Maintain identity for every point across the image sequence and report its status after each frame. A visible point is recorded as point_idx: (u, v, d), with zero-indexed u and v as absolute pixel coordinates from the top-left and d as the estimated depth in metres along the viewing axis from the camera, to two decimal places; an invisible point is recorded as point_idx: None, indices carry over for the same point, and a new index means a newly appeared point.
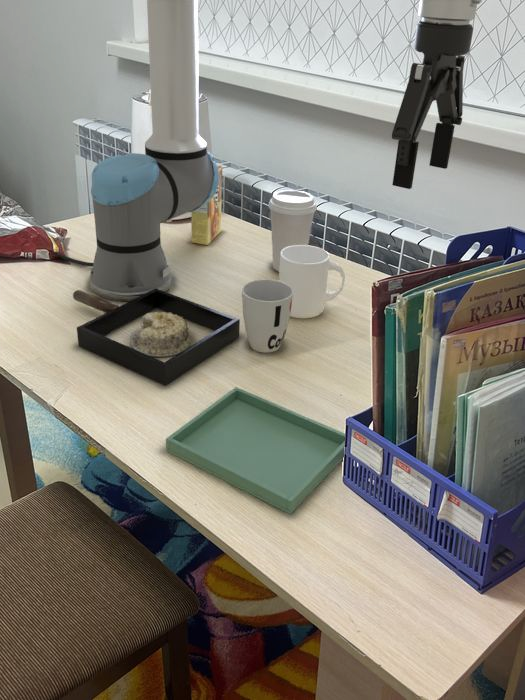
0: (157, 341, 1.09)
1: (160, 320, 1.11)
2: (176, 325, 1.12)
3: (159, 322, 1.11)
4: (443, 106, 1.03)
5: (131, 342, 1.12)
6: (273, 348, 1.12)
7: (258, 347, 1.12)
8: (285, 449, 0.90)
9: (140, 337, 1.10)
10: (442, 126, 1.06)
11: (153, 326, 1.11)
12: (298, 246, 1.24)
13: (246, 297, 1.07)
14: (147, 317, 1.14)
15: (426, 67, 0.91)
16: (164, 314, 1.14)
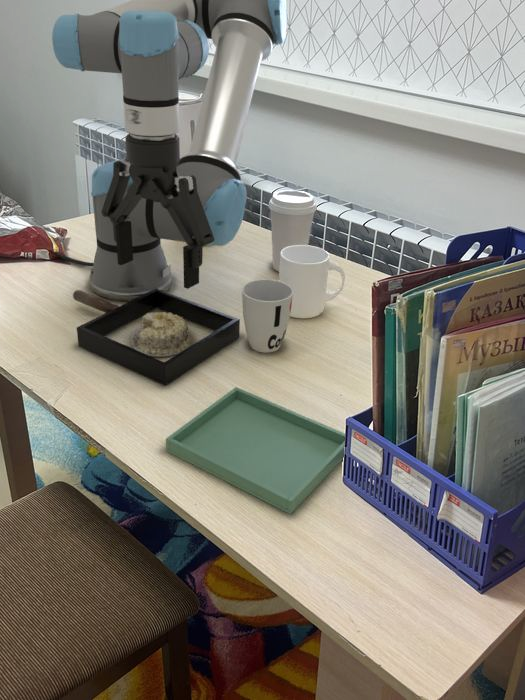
0: (157, 341, 1.09)
1: (160, 320, 1.11)
2: (176, 325, 1.12)
3: (159, 322, 1.11)
4: None
5: (131, 342, 1.12)
6: (273, 348, 1.12)
7: (258, 347, 1.12)
8: (285, 449, 0.90)
9: (140, 337, 1.10)
10: None
11: (153, 326, 1.11)
12: (298, 246, 1.24)
13: (246, 297, 1.07)
14: (147, 317, 1.14)
15: None
16: (164, 314, 1.14)
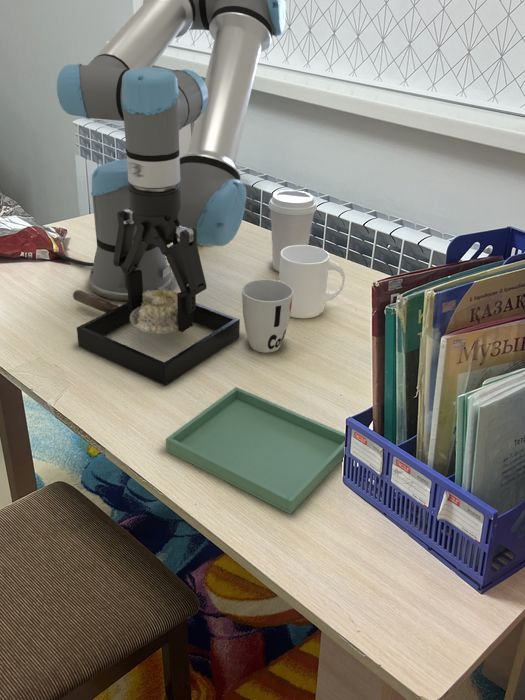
0: (157, 318, 1.07)
1: (160, 297, 1.09)
2: (176, 302, 1.10)
3: (159, 299, 1.09)
4: None
5: (131, 319, 1.11)
6: (273, 348, 1.12)
7: (258, 347, 1.12)
8: (285, 449, 0.90)
9: (140, 314, 1.08)
10: None
11: (153, 303, 1.09)
12: (298, 246, 1.24)
13: (246, 297, 1.07)
14: (147, 295, 1.12)
15: None
16: (165, 291, 1.13)
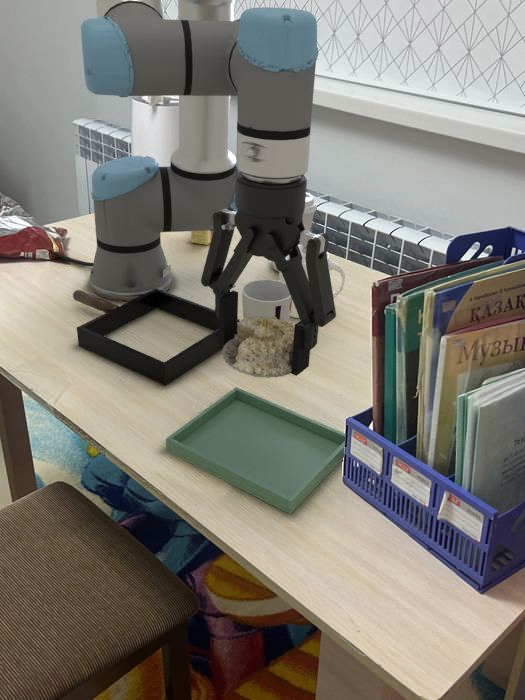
0: (265, 356, 0.79)
1: (266, 327, 0.81)
2: (287, 334, 0.81)
3: (264, 330, 0.81)
4: None
5: (225, 357, 0.82)
6: None
7: None
8: (285, 449, 0.90)
9: (240, 351, 0.80)
10: None
11: (256, 336, 0.81)
12: (298, 246, 1.24)
13: (246, 297, 1.07)
14: (245, 324, 0.84)
15: None
16: (268, 319, 0.84)
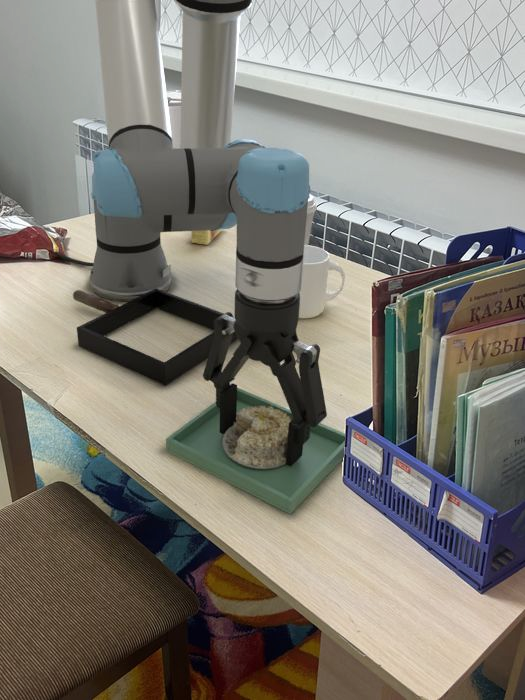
0: (262, 450, 0.85)
1: (263, 421, 0.88)
2: (282, 426, 0.88)
3: (261, 423, 0.88)
4: None
5: (225, 447, 0.89)
6: None
7: None
8: None
9: (239, 444, 0.86)
10: None
11: (254, 428, 0.88)
12: None
13: None
14: (243, 414, 0.91)
15: None
16: (264, 409, 0.91)
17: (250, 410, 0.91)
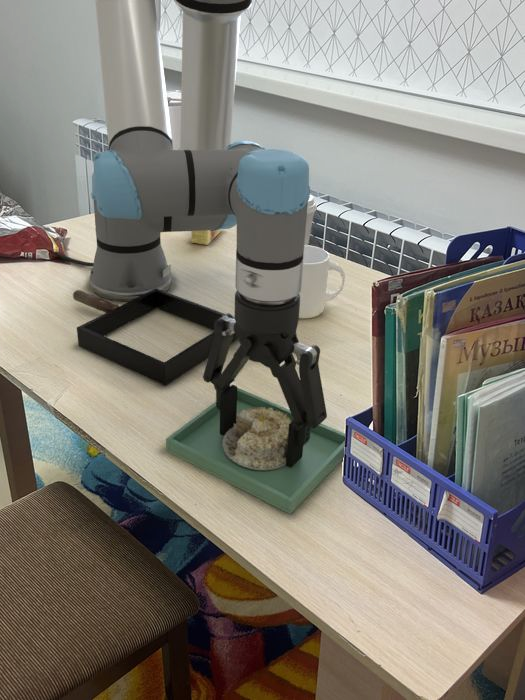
0: (262, 452, 0.85)
1: (263, 422, 0.88)
2: (282, 428, 0.88)
3: (261, 425, 0.88)
4: None
5: (225, 449, 0.89)
6: None
7: None
8: None
9: (239, 445, 0.86)
10: None
11: (254, 430, 0.88)
12: None
13: None
14: (243, 416, 0.91)
15: (215, 321, 0.84)
16: (264, 411, 0.91)
17: (250, 411, 0.91)
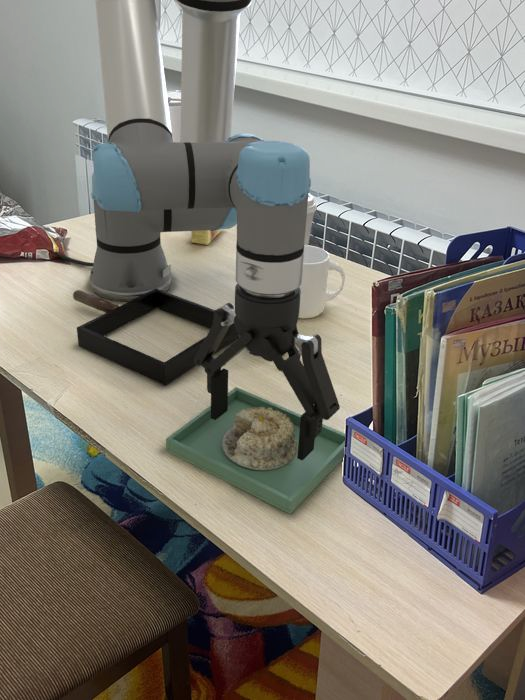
0: (261, 452, 0.86)
1: (262, 422, 0.88)
2: (282, 428, 0.88)
3: (261, 425, 0.88)
4: None
5: (224, 449, 0.89)
6: None
7: None
8: None
9: (239, 445, 0.86)
10: None
11: (253, 430, 0.88)
12: None
13: None
14: (243, 416, 0.91)
15: (216, 310, 0.84)
16: (264, 411, 0.91)
17: (250, 411, 0.91)
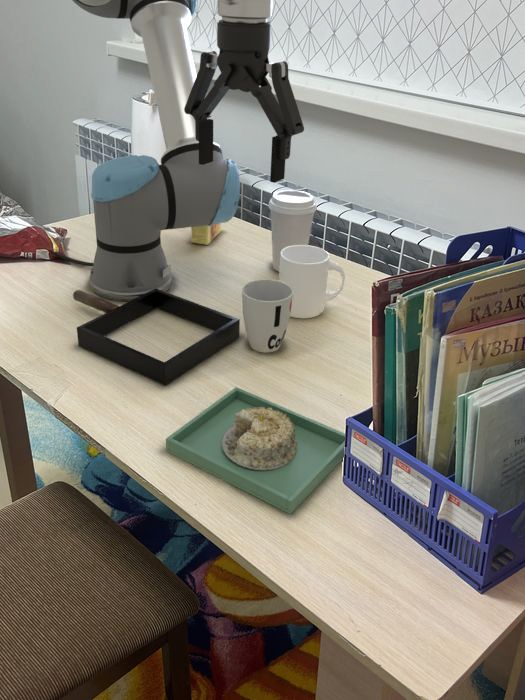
0: (261, 452, 0.86)
1: (262, 422, 0.88)
2: (282, 428, 0.88)
3: (261, 425, 0.88)
4: None
5: (224, 449, 0.89)
6: (273, 348, 1.12)
7: (258, 347, 1.12)
8: None
9: (239, 445, 0.86)
10: None
11: (253, 430, 0.88)
12: (298, 246, 1.24)
13: (246, 297, 1.07)
14: (243, 416, 0.91)
15: None
16: (264, 411, 0.91)
17: (250, 411, 0.91)
